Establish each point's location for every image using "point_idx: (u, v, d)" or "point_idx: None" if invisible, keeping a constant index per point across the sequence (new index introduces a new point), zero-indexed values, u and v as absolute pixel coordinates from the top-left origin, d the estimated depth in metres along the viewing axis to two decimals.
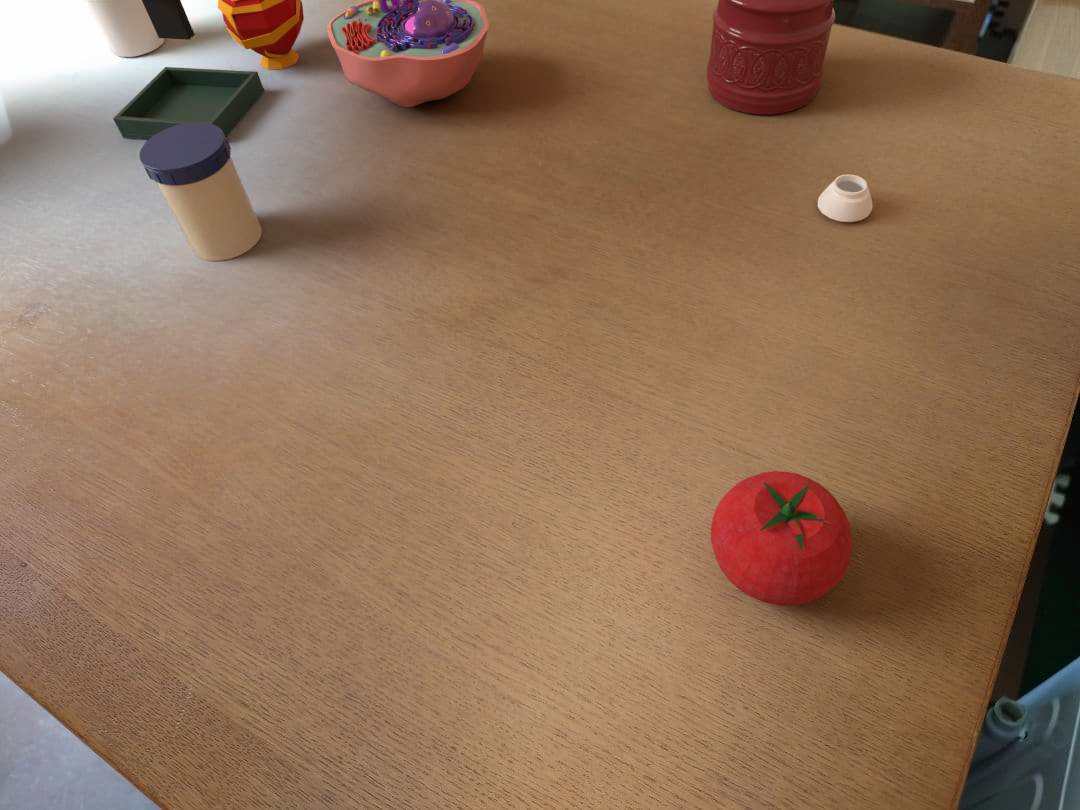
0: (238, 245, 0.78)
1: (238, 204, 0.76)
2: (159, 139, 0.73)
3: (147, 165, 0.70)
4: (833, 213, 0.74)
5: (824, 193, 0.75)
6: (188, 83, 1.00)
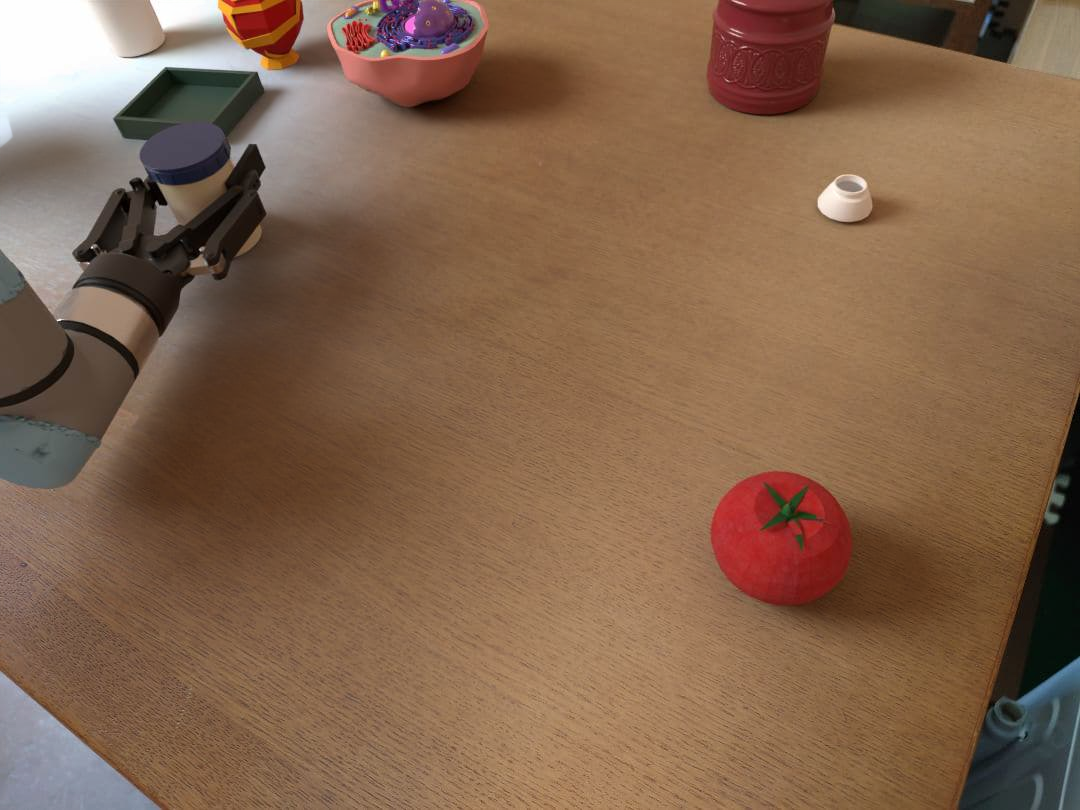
0: None
1: None
2: (159, 139, 0.73)
3: (147, 165, 0.70)
4: (833, 213, 0.74)
5: (824, 193, 0.75)
6: (188, 83, 1.00)
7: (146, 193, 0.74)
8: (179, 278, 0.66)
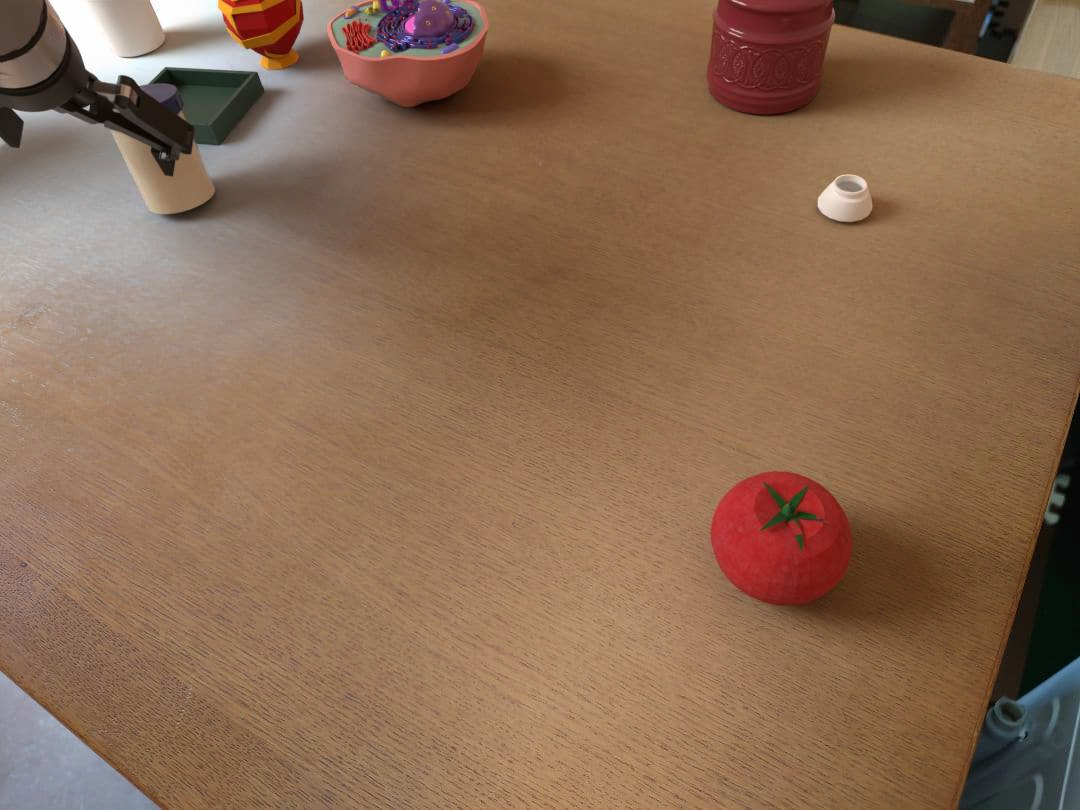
0: (188, 198, 0.82)
1: (188, 157, 0.80)
2: None
3: None
4: (833, 213, 0.74)
5: (824, 193, 0.75)
6: (188, 83, 1.00)
7: None
8: None
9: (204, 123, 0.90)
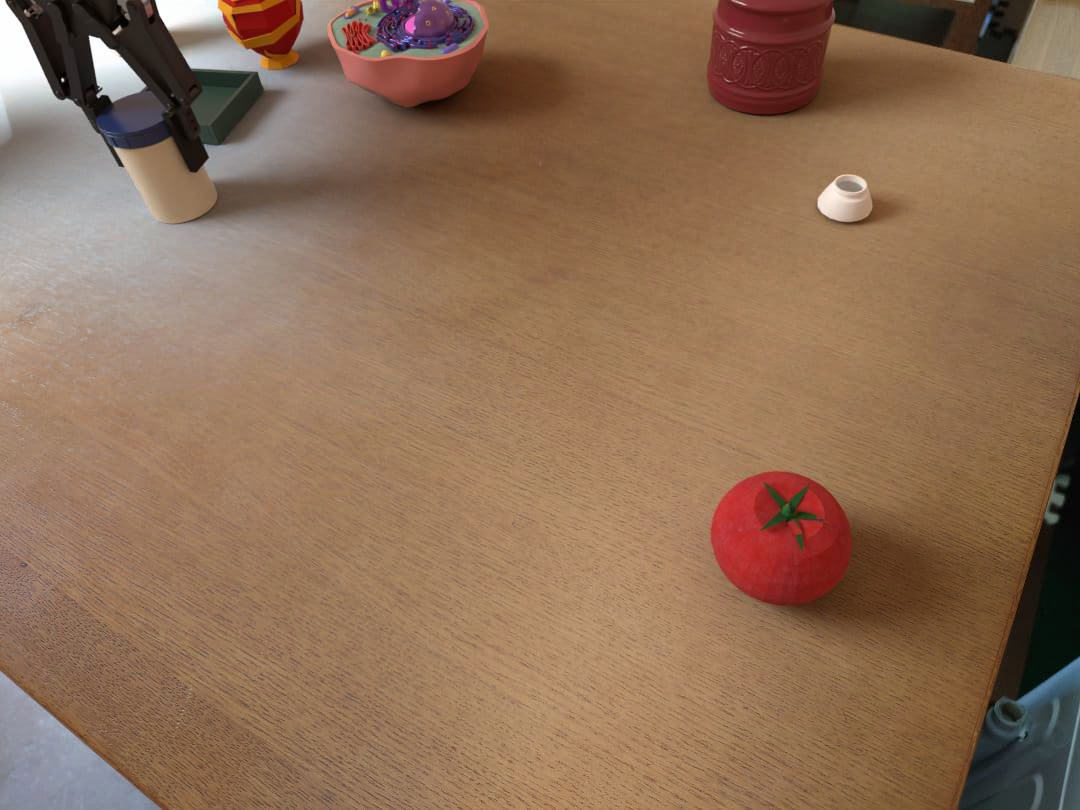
0: (194, 208, 0.82)
1: None
2: (116, 106, 0.77)
3: (103, 130, 0.75)
4: (833, 213, 0.74)
5: (824, 193, 0.75)
6: None
7: (95, 87, 0.77)
8: None
9: (204, 123, 0.90)
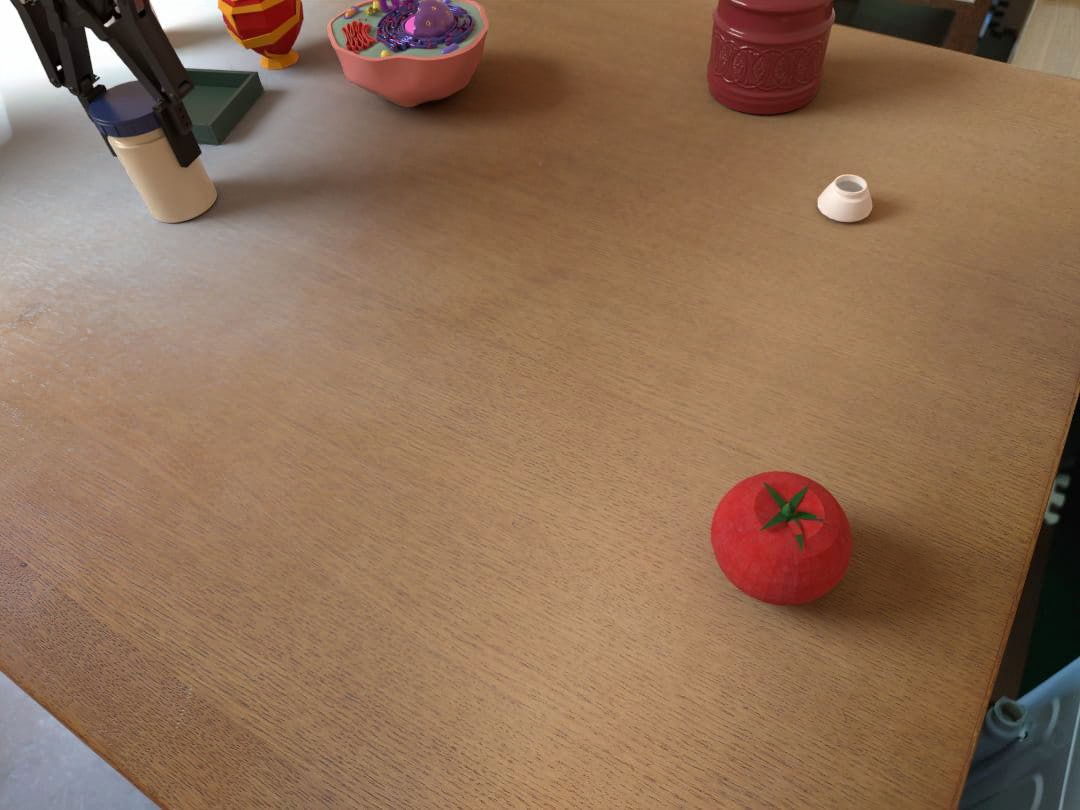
0: (193, 207, 0.82)
1: (190, 167, 0.80)
2: (149, 106, 0.75)
3: None
4: (833, 213, 0.74)
5: (824, 193, 0.75)
6: None
7: None
8: None
9: (204, 123, 0.90)
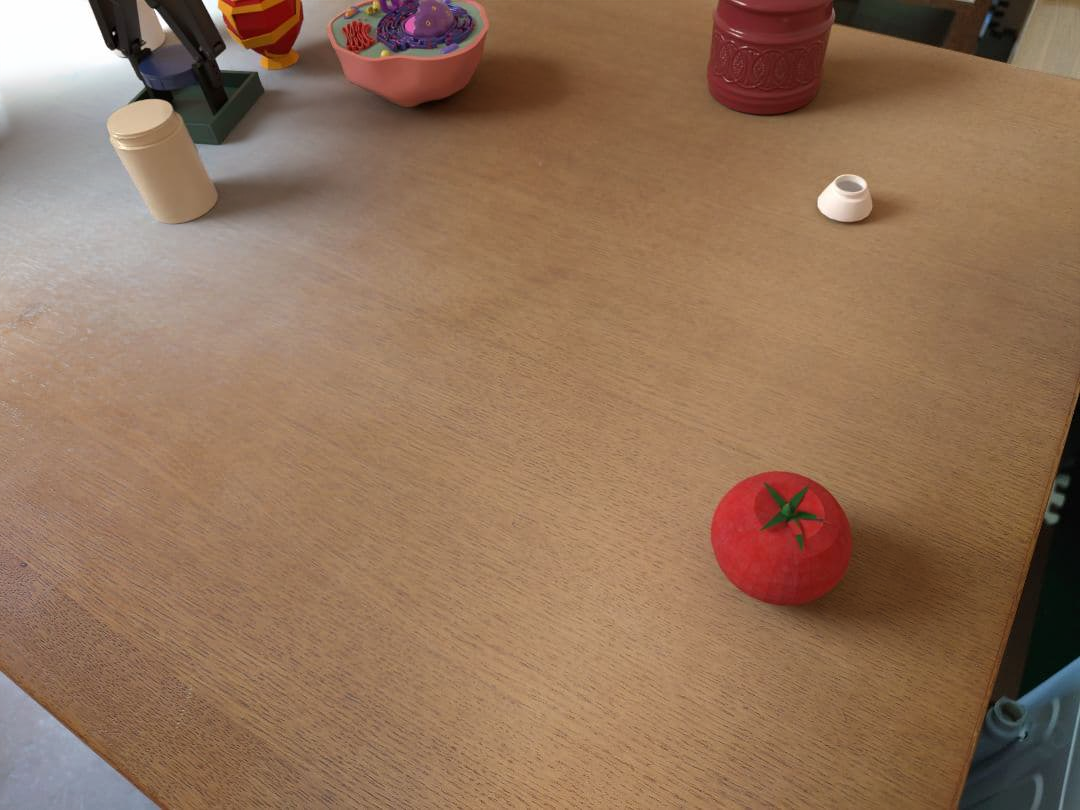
0: (194, 208, 0.82)
1: (192, 169, 0.80)
2: (188, 64, 0.90)
3: (200, 47, 0.93)
4: (833, 213, 0.74)
5: (824, 193, 0.75)
6: None
7: None
8: None
9: (204, 123, 0.90)
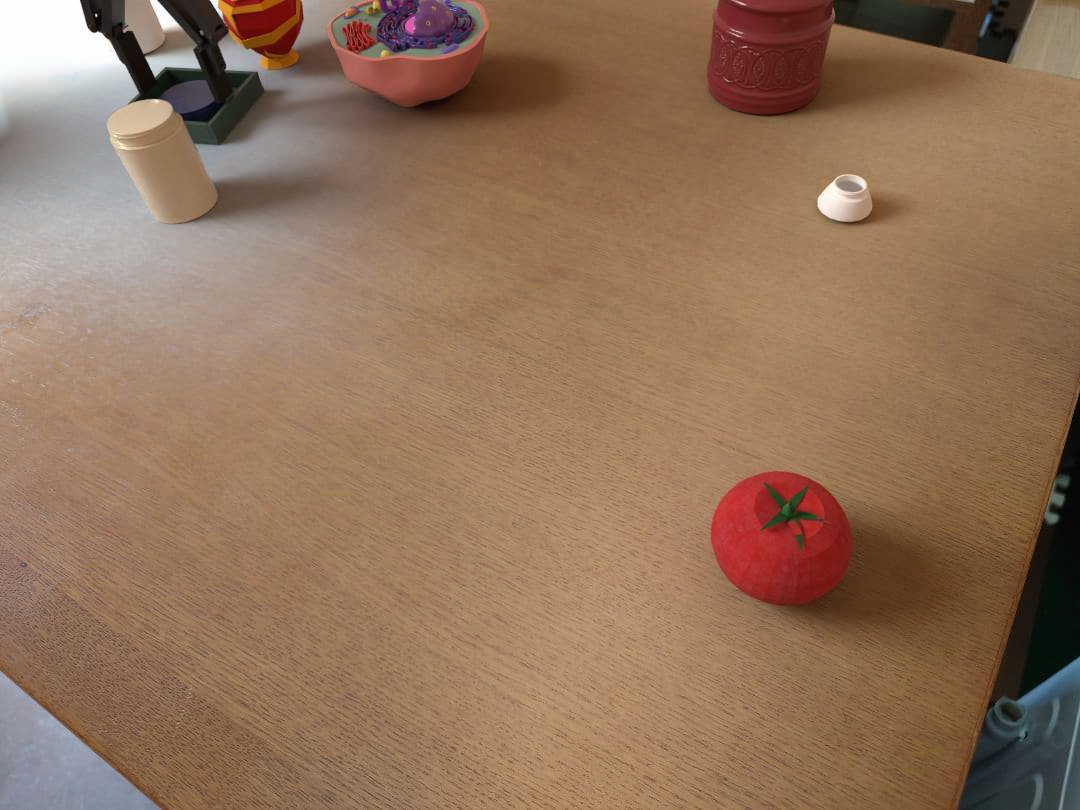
0: (194, 208, 0.82)
1: (192, 169, 0.80)
2: (204, 101, 0.94)
3: None
4: (833, 213, 0.74)
5: (824, 193, 0.75)
6: None
7: None
8: None
9: (204, 123, 0.90)
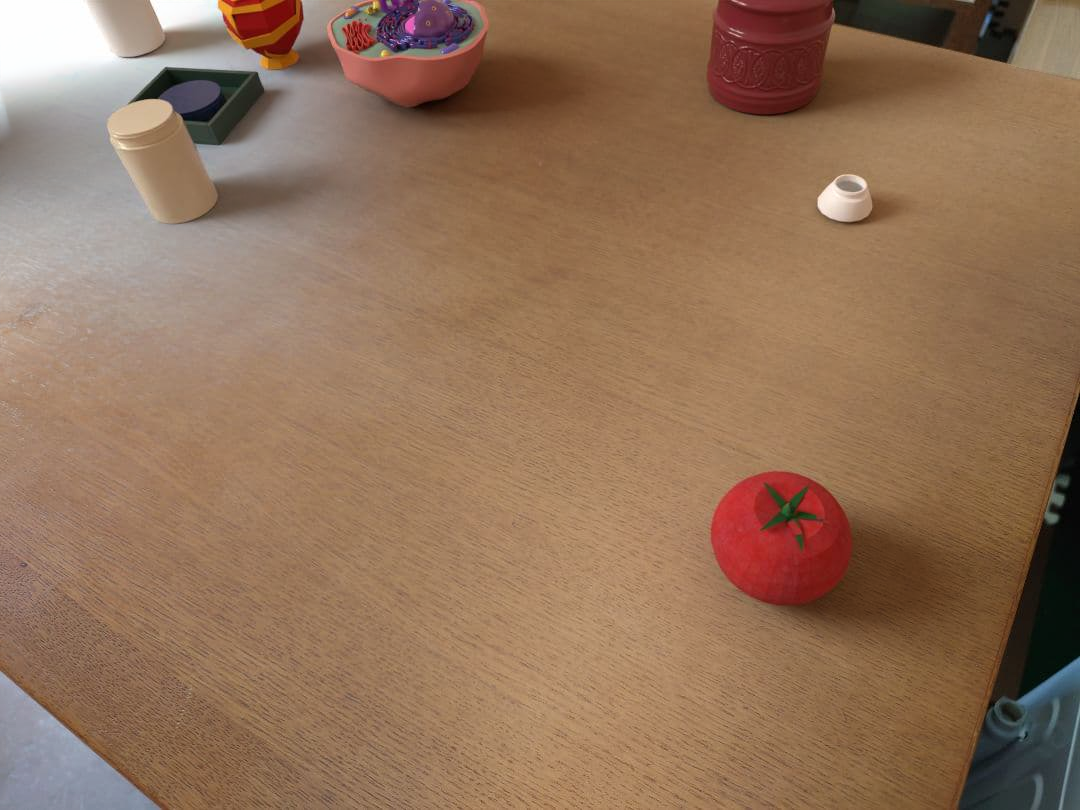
0: (194, 208, 0.82)
1: (192, 169, 0.80)
2: (204, 101, 0.94)
3: (215, 83, 0.97)
4: (833, 213, 0.74)
5: (824, 193, 0.75)
6: None
7: None
8: None
9: (204, 123, 0.90)
